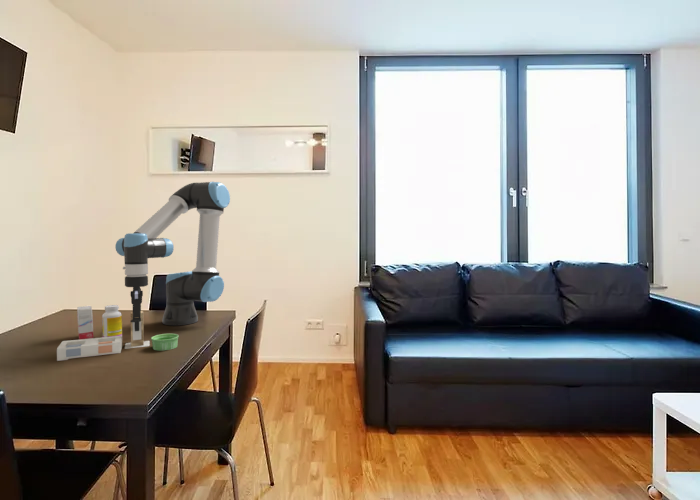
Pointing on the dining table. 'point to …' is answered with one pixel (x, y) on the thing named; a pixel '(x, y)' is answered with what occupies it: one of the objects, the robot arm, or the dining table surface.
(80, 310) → the ink box
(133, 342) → the oak peg
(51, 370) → the dining table surface
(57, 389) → the dining table surface
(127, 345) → the mat
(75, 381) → the dining table surface
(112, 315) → the supplement bottle
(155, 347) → the ramekin
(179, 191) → the robot arm
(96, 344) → the socket board
